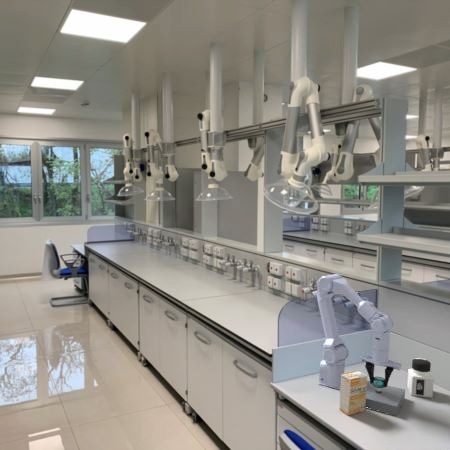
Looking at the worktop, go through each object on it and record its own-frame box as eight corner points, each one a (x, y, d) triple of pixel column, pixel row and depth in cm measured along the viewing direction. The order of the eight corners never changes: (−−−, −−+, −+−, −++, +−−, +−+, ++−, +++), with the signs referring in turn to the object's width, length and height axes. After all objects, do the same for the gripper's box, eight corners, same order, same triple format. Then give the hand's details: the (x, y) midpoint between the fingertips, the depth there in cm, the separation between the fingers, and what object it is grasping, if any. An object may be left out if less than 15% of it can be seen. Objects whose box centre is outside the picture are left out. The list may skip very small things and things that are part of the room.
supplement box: (348, 416, 152) (350, 379, 151) (338, 410, 156) (340, 374, 155) (366, 411, 156) (368, 375, 155) (356, 405, 160) (358, 370, 159)
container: (432, 398, 167) (434, 364, 166) (411, 395, 169) (413, 362, 168) (427, 389, 175) (429, 357, 174) (407, 387, 176) (408, 355, 176)
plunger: (370, 396, 163) (371, 379, 162) (373, 391, 167) (374, 375, 166) (383, 399, 160) (384, 382, 160) (385, 394, 164) (386, 378, 164)
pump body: (350, 403, 161) (350, 394, 161) (361, 387, 175) (362, 379, 174) (396, 416, 153) (397, 406, 152) (404, 398, 166) (405, 389, 166)
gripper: (357, 347, 163) (356, 383, 164) (399, 356, 155) (397, 393, 156) (362, 342, 169) (361, 376, 170) (403, 350, 161) (401, 386, 162)
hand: (378, 384), depth 163 cm, fingers closed on plunger, 4 cm apart
